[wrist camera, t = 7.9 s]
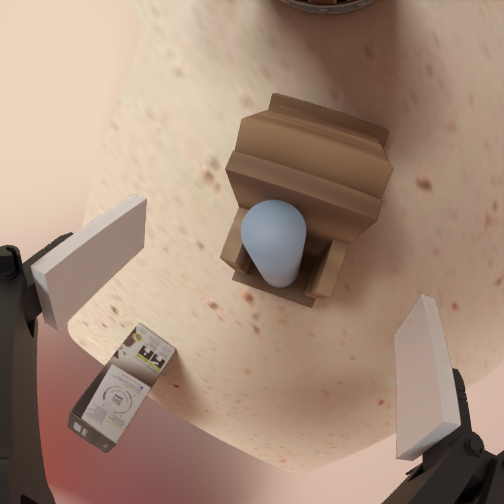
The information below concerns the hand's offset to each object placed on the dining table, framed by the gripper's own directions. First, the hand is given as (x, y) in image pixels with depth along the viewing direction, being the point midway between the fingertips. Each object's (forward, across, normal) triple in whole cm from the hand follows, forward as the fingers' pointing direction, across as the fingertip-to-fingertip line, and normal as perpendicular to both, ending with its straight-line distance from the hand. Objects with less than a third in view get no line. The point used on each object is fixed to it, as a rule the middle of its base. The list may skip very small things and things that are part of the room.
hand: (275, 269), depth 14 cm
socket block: (+14, 0, -1) cm, 14 cm away
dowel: (+11, 0, -8) cm, 13 cm away
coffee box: (+14, -14, -30) cm, 36 cm away
